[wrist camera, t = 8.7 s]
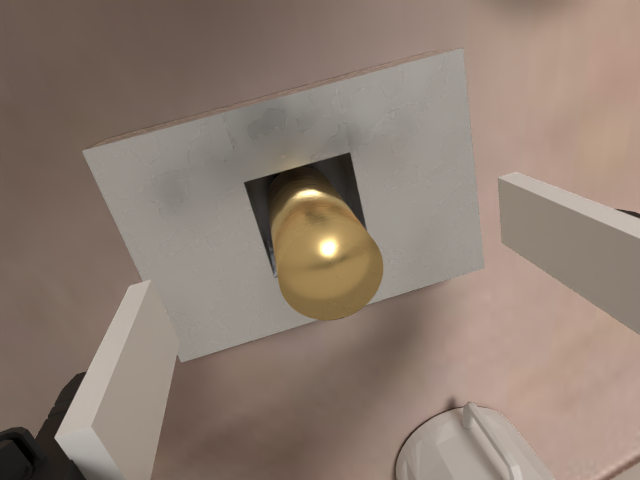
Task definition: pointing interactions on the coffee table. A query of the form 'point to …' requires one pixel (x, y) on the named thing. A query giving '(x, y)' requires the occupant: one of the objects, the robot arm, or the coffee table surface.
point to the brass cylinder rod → (320, 247)
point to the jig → (283, 154)
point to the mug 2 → (469, 449)
